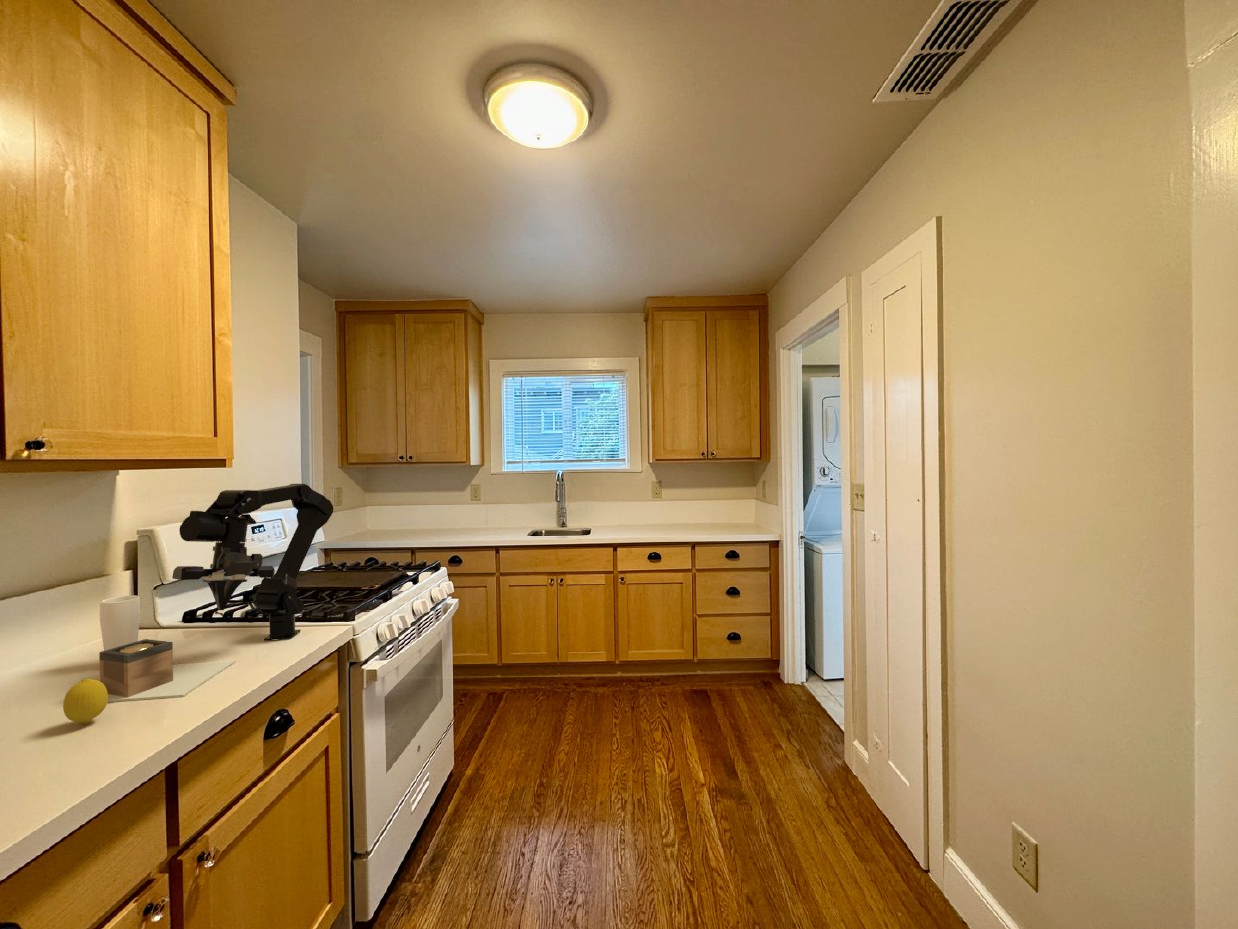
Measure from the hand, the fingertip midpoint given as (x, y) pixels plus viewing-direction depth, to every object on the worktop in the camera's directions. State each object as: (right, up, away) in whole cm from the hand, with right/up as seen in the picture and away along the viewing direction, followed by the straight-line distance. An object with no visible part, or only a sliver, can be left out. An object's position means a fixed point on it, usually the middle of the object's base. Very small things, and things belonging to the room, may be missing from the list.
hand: (221, 610), depth 122 cm
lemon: (-1, -12, -30) cm, 32 cm away
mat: (-3, -12, -12) cm, 17 cm away
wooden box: (-6, -12, -15) cm, 20 cm away
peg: (-6, -12, -15) cm, 20 cm away
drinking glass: (-22, -12, -2) cm, 25 cm away
